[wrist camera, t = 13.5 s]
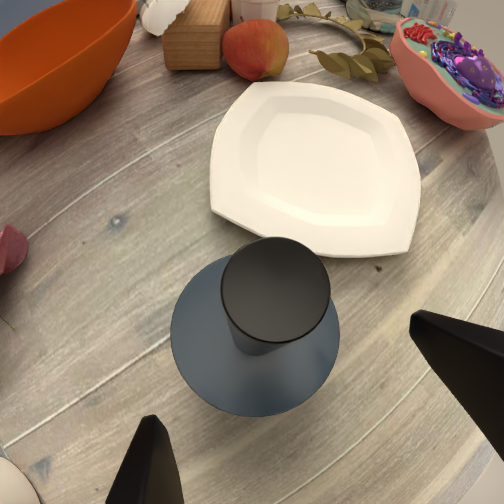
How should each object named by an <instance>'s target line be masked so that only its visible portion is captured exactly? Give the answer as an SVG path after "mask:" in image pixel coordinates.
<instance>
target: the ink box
mask: <svg viewBox="0 0 504 504" xmlns="http://www.w3.org/2000/svg"><path fill="white" fill-rule="evenodd" d="M457 5H458V2H456V1H453V0H403V2H402V7H401V12H400V14H401V15H403V16H404V17H405V18H407V17H418V18H422V19H425V20H428V21H431V22H437V23H439V24H440V25H443V26H448V25H449V23H450V21H451V19H452V16H453V14H454V12H455V10H456V7H457ZM451 9H452V11H451V14H450V15H449V17H448V14H449V12H450V10H451ZM447 17H448V18H447Z"/></svg>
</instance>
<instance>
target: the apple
mask: <svg viewBox="0 0 504 504" xmlns="http://www.w3.org/2000/svg"><path fill="white" fill-rule="evenodd" d="M240 19H241V20H242V23H239V24H237V25H235V26H234V27H232V28H230V29H229V30H228V31H226V33H225V34H224V36H223V38H222V52H223V55H224V58H225V60H226V61H227V63H228V64H229V66H230V67H231V68H232V69H233V70H234V71H235V72H236V73H237V74H239V75H240V76H242V77H244V78H246V79H248V80H251V81H257V80H259V79H261V78H263V77H267V76H270V75H272V76H277V75H279V74H280V72H281V71H282V69H283V67H284V65H285V63H286V61H287V57H288V52H289V44H288V39H287V36H286V34H285V32H284V30H283V29H282V28H281V26H280V25H279V24H277V23H276V22H273V21H271V20H267V19H254V20H248V21H245V22H244V21H243V17H242V16H240Z"/></svg>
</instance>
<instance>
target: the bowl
mask: <svg viewBox="0 0 504 504" xmlns="http://www.w3.org/2000/svg"><path fill="white" fill-rule="evenodd" d="M136 14H137V4H136V0H65V1H63V2H60V3H58V4H56V5H53V6H51V7H49V8H47V9H45V10H43V11H41V12H39V13H37V14H36V15H34V16H32V17H31V18H29V19H28V20H26V21H24V22H23V23H21V24H20V25H18V26H17V27H15V28H14V29H13V30H11V31H10V32H9V33H7V34H6V35H5V36H4V37H2V38H1V39H0V135H18V134H25V133H39V132H44V131H47V130H50V129H53V128H55V127H57V126H59V125H61V124H63V123H65V122H67V121H68V120H70V119H71V118H73V117H75V116H76V115H77V114H79V113H80V112H81V111H83V110H84V109H85V108H86V107H87V106H89V105H90V104H91V103H92V102H93V101H94V100H95V99H96V97H97V96H98V95H99V94H100V92H101V91H102V90H103V88H104V86H105V84H106V82H107V81H108V79H109V78H110V76H111V75H112V73H113V72H114V70H115V68H116V67H117V65H118V64H119V62H120V60H121V58H122V56H123V55H124V52H125V50H126V48H127V46H128V44H129V42H130V39H131V36H132V33H133V30H134V26H135V21H136Z"/></svg>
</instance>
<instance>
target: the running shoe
mask: <svg viewBox="0 0 504 504" xmlns="http://www.w3.org/2000/svg"><path fill="white" fill-rule="evenodd" d="M341 1H344V2H347V3H346V9H347V14H348V16H349V17H350V19H352V20H363V24H362V26H361V27H363V28H366V29H368V28H370V30H373V31H379V32H382V33H394V32H395V28H396V23H397V22H399V21H400V18H401V17H400V12H401V7H402V2H403V0H341Z"/></svg>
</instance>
